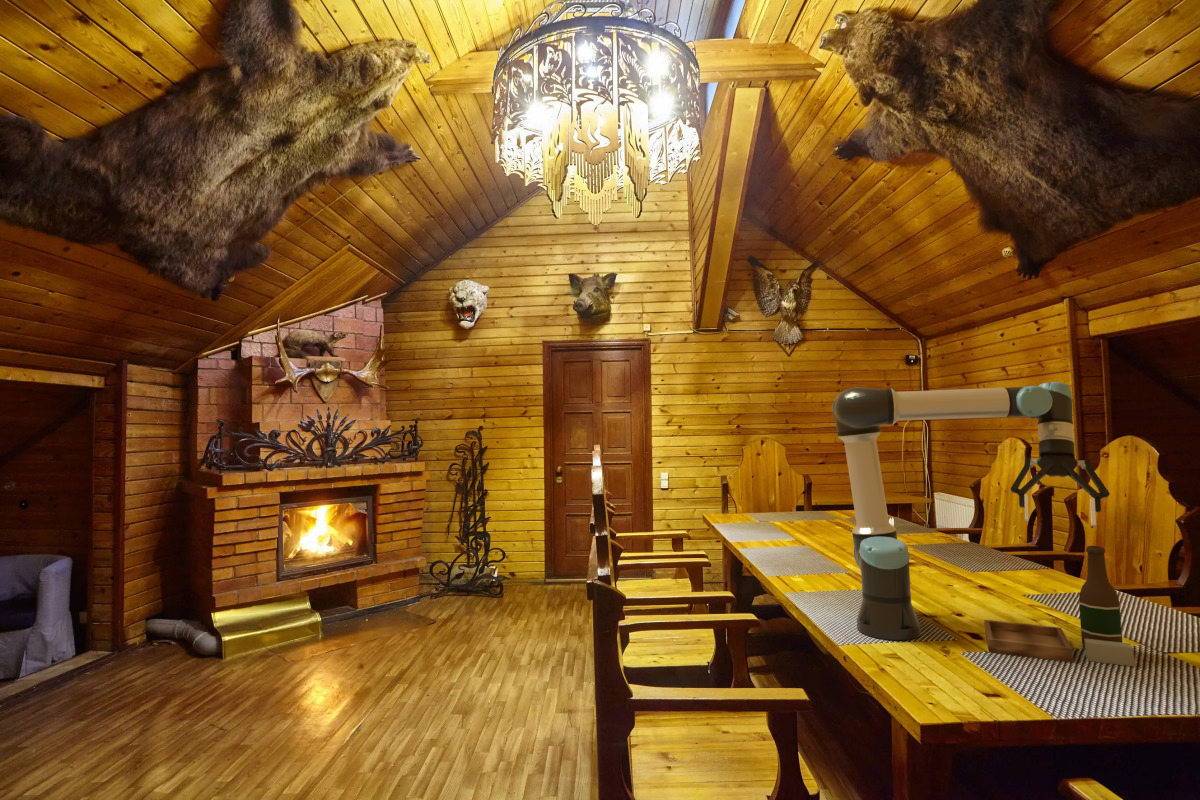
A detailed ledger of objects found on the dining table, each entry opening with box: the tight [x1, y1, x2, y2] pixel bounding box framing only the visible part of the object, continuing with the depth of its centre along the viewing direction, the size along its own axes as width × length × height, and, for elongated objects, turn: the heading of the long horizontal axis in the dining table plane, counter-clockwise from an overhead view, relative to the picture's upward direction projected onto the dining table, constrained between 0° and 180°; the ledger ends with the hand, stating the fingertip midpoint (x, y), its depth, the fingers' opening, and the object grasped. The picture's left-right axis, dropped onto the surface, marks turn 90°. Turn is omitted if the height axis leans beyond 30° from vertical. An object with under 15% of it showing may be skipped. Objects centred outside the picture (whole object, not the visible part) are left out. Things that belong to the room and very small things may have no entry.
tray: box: [983, 619, 1075, 663], centre depth 148 cm, size 16×16×3 cm
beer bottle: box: [1078, 545, 1123, 651], centre depth 144 cm, size 8×8×24 cm
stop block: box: [1084, 639, 1136, 667], centre depth 138 cm, size 8×3×4 cm, turn 61°
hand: (1059, 522), depth 156 cm, fingers open, 13 cm apart
